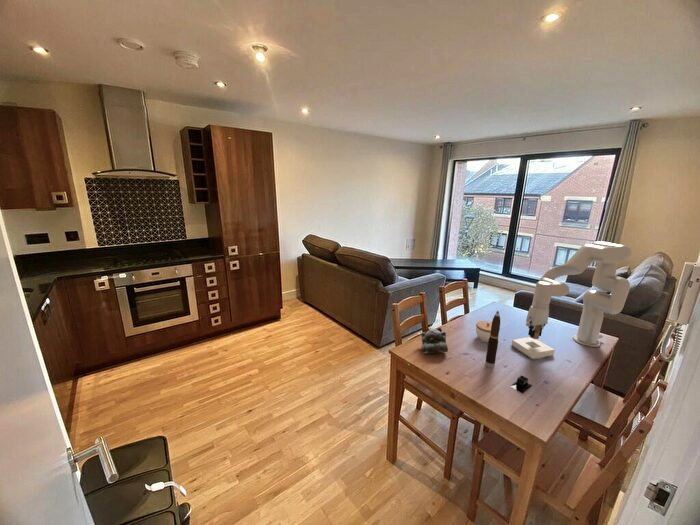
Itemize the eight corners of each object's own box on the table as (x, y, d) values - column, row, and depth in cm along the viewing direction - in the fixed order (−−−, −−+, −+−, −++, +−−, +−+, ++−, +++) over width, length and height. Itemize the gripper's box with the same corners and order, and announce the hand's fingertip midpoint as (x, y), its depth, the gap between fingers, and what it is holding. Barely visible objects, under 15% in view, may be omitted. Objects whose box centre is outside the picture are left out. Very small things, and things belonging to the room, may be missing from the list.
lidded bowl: (502, 342, 167) (505, 325, 164) (486, 346, 162) (488, 329, 159) (485, 332, 178) (487, 316, 175) (469, 336, 174) (472, 319, 171)
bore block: (531, 342, 167) (532, 336, 166) (553, 356, 154) (554, 349, 153) (511, 346, 163) (512, 339, 162) (532, 360, 150) (533, 353, 149)
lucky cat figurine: (417, 353, 155) (416, 327, 159) (425, 352, 164) (424, 328, 168) (444, 355, 146) (442, 327, 150) (451, 353, 156) (449, 327, 159)
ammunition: (486, 361, 149) (494, 308, 141) (495, 364, 146) (504, 310, 138) (483, 365, 145) (491, 311, 138) (493, 368, 143) (502, 314, 135)
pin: (533, 335, 158) (536, 322, 156) (540, 338, 155) (543, 325, 153) (528, 336, 157) (530, 322, 155) (534, 339, 154) (537, 326, 152)
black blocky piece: (520, 377, 137) (521, 369, 136) (536, 386, 131) (538, 378, 130) (506, 387, 130) (507, 378, 129) (522, 397, 124) (524, 388, 123)
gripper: (546, 300, 157) (540, 330, 161) (522, 303, 153) (516, 333, 157) (559, 305, 150) (552, 337, 154) (534, 308, 146) (527, 340, 150)
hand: (534, 335), depth 156 cm, fingers closed on pin, 4 cm apart
